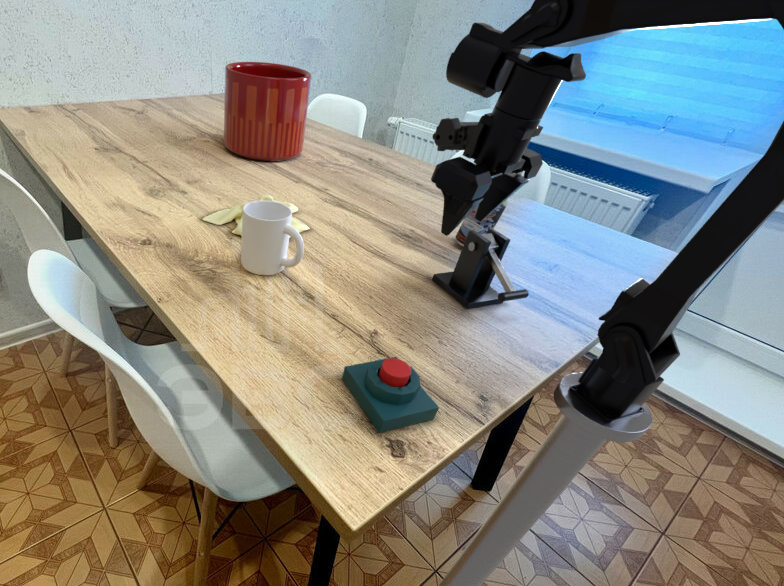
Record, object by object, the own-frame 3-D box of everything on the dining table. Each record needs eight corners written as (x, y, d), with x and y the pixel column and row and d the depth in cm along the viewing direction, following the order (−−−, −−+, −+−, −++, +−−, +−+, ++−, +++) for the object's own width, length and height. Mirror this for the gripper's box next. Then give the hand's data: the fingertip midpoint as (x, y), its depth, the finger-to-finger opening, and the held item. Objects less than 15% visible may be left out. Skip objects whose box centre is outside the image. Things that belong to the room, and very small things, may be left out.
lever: (521, 301, 75) (532, 293, 73) (498, 305, 74) (508, 297, 72) (489, 241, 80) (498, 232, 78) (465, 244, 78) (474, 234, 76)
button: (413, 384, 57) (417, 374, 56) (388, 390, 56) (392, 379, 55) (397, 366, 60) (401, 356, 59) (373, 371, 59) (376, 360, 57)
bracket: (502, 303, 81) (530, 246, 74) (466, 309, 78) (491, 251, 71) (466, 274, 88) (488, 220, 81) (431, 279, 85) (451, 223, 78)
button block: (433, 419, 58) (444, 396, 56) (379, 433, 56) (387, 410, 53) (392, 368, 65) (399, 346, 62) (341, 378, 62) (347, 356, 60)
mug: (311, 272, 84) (320, 217, 77) (285, 289, 78) (292, 232, 72) (258, 249, 88) (262, 196, 82) (231, 265, 83) (232, 209, 76)
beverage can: (447, 241, 98) (467, 184, 91) (473, 238, 101) (495, 182, 93) (467, 255, 94) (490, 197, 86) (493, 251, 97) (518, 194, 89)
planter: (209, 152, 130) (209, 67, 117) (244, 134, 147) (247, 58, 133) (285, 169, 125) (293, 82, 111) (312, 148, 141) (322, 71, 128)
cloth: (289, 201, 108) (292, 174, 104) (324, 237, 95) (329, 208, 91) (195, 208, 100) (194, 179, 96) (219, 247, 88) (219, 216, 84)
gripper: (498, 84, 65) (451, 190, 76) (422, 94, 55) (380, 214, 66) (572, 113, 60) (510, 222, 71) (503, 130, 50) (443, 253, 61)
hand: (461, 226), depth 68 cm, fingers open, 9 cm apart
